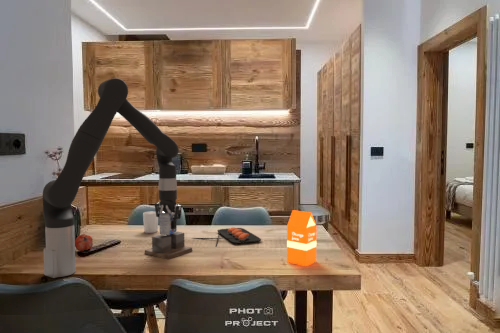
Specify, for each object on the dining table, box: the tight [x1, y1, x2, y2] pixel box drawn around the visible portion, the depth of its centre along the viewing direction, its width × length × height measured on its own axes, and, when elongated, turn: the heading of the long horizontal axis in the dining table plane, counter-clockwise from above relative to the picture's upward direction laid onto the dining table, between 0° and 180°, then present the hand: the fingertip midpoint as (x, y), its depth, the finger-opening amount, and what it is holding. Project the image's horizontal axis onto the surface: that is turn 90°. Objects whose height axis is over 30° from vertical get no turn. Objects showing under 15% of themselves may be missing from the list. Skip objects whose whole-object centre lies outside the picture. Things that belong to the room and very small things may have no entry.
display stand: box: [144, 231, 193, 260], centre depth 163 cm, size 14×14×8 cm
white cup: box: [142, 210, 159, 234], centre depth 202 cm, size 8×8×10 cm
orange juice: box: [286, 209, 318, 267], centre depth 150 cm, size 8×9×20 cm
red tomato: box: [75, 233, 94, 252], centre depth 166 cm, size 7×7×10 cm
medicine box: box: [158, 212, 178, 236], centre depth 163 cm, size 8×4×9 cm, turn 168°
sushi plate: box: [192, 226, 262, 248], centre depth 187 cm, size 29×30×4 cm
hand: (168, 228), depth 163 cm, fingers closed on medicine box, 5 cm apart
